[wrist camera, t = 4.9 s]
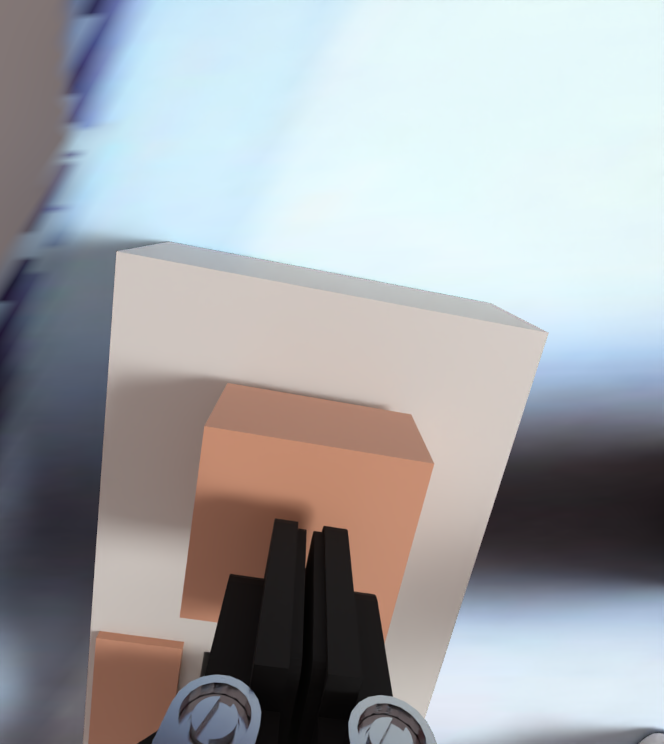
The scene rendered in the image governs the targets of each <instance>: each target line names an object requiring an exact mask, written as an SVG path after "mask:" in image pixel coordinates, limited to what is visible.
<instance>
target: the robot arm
mask: <svg viewBox="0 0 664 744" xmlns="http://www.w3.org/2000/svg"><path fill="white" fill-rule="evenodd" d="M306 536H307V530H306V529H299V528H298V522H297V521H290V520H284V519H277V518H275V520H274V525H273V530H272V536H271V541H270V547H269V552H268V558H267V563H266V569H265V574H264V578H257V577H250V576H243V575H236V574H230V575H229V579H228V582H227V587H226V591H225V595H224V599H223V603H222V607H221V611H220V615H219V619H218V623H217V627H216V631H215V635H214V639H213V643H212V647H211V651H210V655H209V659H208V663H207V667H206V671H205V675H204V676H203V677H200V678H198V679H196V680H193V681H191V682H189V683H188V684H187V685H186V686H184V687H183V688H182V689H181V690H180V691H179V692H178V693H177V695H176V696H175V698H174V699H173V701H172V702H171V704H170V706H169V708H168V710H167V712H166V714H165V717H164V719H163V721H162V723H161V725H160V727H159V729H158V730H157V731H156V732H154V733H153V734H151V735H150V736H148V737H147V738H145V739H143V740H142V741H140V742H139V743H137V744H437V743H436V740H435V737H434V734H433V732H432V730H431V729H430V727H429V725H428V723H427V721H426V720H425V719H424V718H423V716H422V715H421V714H420V713H419V712H418V711H417V710H416V709H415V708H413V707H412V706H410V705H409V704H408V703H406V702H404V701H402V700H400V699H397V698H395V697H393V694H392V688H391V681H390V675H389V669H388V663H387V656H386V650H385V644H384V638H383V631H382V625H381V619H380V613H379V606H378V601H377V597H376V595H375V594H369V593H362V592H355V591H354V586H353V576H352V566H351V556H350V546H349V536H348V530H347V529H343V528H336V527H330V526H323V529H322V532H319V531H313V535H312V539H311V544H310V549H309V554H308V558H307V563H306ZM305 565H306V568H305Z"/></svg>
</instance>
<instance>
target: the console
mask: <svg viewBox="0 0 664 744" xmlns="http://www.w3.org/2000/svg"><path fill="white" fill-rule="evenodd" d="M547 336H548V332H546V331H544V330H542V329H540V328H538V327H536V326H534V325H532V324H530V323H528V322H526V321H525V320H523V319H521V318H519V317H517V316H515V315H513V314H511V313H509V312H507V311H505V310H503V309H501V308H499V307H497V306H495V305H493V304H491V303H487V302H481V301H476V300H471V299H466V298H460V297H455V296H450V295H445V294H440V293H434V292H429V291H424V290H419V289H414V288H408V287H403V286H398V285H393V284H388V283H382V282H377V281H372V280H367V279H361V278H356V277H351V276H346V275H341V274H335V273H330V272H325V271H320V270H315V269H309V268H304V267H299V266H294V265H288V264H283V263H278V262H273V261H268V260H262V259H257V258H252V257H247V256H242V255H236V254H231V253H226V252H221V251H216V250H210V249H205V248H200V247H195V246H189V245H184V244H179V243H174V242H164V243H159V244H153V245H148V246H142V247H137V248H131V249H126V250H120V251H116V265H115V280H114V294H113V309H112V324H111V338H110V353H109V367H108V382H107V397H106V411H105V426H104V440H103V455H102V470H101V484H100V499H99V513H98V528H97V543H96V557H95V572H94V586H93V601H92V616H91V630H90V645H89V659H88V674H87V689H86V703H85V718H84V732H83V744H137V743H139V742H140V741H142V740H143V739H145V738H147V737H148V736H150V735H151V734H153V733H154V732H156V731H157V730H158V729H159V727H160V725H161V723H162V721H163V719H164V717H165V714H166V712H167V710H168V708H169V706H170V704H171V702H172V701H173V699H174V698H175V696H176V695H177V693H178V692H179V691H180V690H181V689H182V688H183V687H184V686H186V685H187V684H188V683H189V682H191V681H193V680H196V679H198V678H200V677H203V676H204V675H205V671H206V667H207V663H208V659H209V655H210V651H211V647H212V643H213V639H214V635H215V631H216V627H217V622H209V621H202V620H194V619H187V618H180V610H181V602H182V594H183V587H184V579H185V571H186V564H187V556H188V548H189V540H190V533H191V525H192V517H193V509H194V502H195V494H196V486H197V479H198V471H199V463H200V455H201V448H202V440H203V432H204V426H205V424H206V422H207V420H208V418H209V416H210V414H211V413H212V411H213V409H214V407H215V405H216V403H217V401H218V400H219V398H220V396H221V394H222V392H223V390H224V388H225V387H226V385H227V383H231V384H237V385H243V386H249V387H255V388H260V389H266V390H272V391H278V392H284V393H290V394H295V395H301V396H307V397H313V398H319V399H325V400H330V401H336V402H342V403H348V404H354V405H360V406H366V407H371V408H377V409H383V410H389V411H395V412H401V413H406V414H411V415H412V417H413V419H414V421H415V423H416V426H417V428H418V430H419V432H420V434H421V436H422V438H423V441H424V443H425V445H426V447H427V449H428V451H429V453H430V456H431V458H432V460H433V462H434V467H433V470H432V474H431V478H430V481H429V485H428V489H427V492H426V496H425V499H424V503H423V507H422V510H421V514H420V518H419V521H418V525H417V528H416V532H415V536H414V539H413V543H412V546H411V550H410V554H409V557H408V561H407V565H406V568H405V572H404V575H403V579H402V583H401V586H400V590H399V594H398V597H397V601H396V604H395V608H394V612H393V615H392V619H391V623H390V626H389V630H388V633H387V637H386V641H385V650H386V656H387V663H388V669H389V675H390V681H391V688H392V694H393V697H395V698H397V699H400V700H402V701H404V702H406V703H408V704H409V705H410V706H412V707H413V708H415V709H416V710H417V711H418V712H419V713H420V714H421V715H422V716H423V718H424V719H425V716H426V713H427V710H428V706H429V703H430V700H431V697H432V694H433V691H434V688H435V685H436V682H437V678H438V675H439V672H440V669H441V666H442V663H443V660H444V657H445V654H446V650H447V647H448V644H449V641H450V638H451V635H452V632H453V629H454V626H455V622H456V619H457V616H458V613H459V610H460V607H461V604H462V601H463V597H464V594H465V591H466V588H467V585H468V582H469V579H470V576H471V573H472V569H473V566H474V563H475V560H476V557H477V554H478V551H479V548H480V545H481V541H482V538H483V535H484V532H485V529H486V526H487V523H488V520H489V517H490V513H491V510H492V507H493V504H494V501H495V498H496V495H497V492H498V489H499V485H500V482H501V479H502V476H503V473H504V470H505V467H506V464H507V461H508V457H509V454H510V451H511V448H512V445H513V442H514V439H515V436H516V433H517V429H518V426H519V423H520V420H521V417H522V414H523V411H524V408H525V405H526V401H527V398H528V395H529V392H530V389H531V386H532V383H533V380H534V377H535V373H536V370H537V367H538V364H539V361H540V358H541V355H542V352H543V349H544V345H545V342H546V339H547Z"/></svg>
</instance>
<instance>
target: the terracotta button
mask: <svg viewBox="0 0 664 744" xmlns="http://www.w3.org/2000/svg"><path fill="white" fill-rule="evenodd" d="M433 467H434V462H433V460H432V458H431V456H430V453H429V451H428V449H427V447H426V445H425V443H424V441H423V438H422V436H421V434H420V432H419V430H418V428H417V426H416V423H415V421H414V419H413V417H412V415H411V414H406V413H401V412H395V411H389V410H383V409H377V408H371V407H366V406H360V405H354V404H348V403H342V402H336V401H330V400H325V399H319V398H313V397H307V396H301V395H295V394H290V393H284V392H278V391H272V390H266V389H260V388H255V387H249V386H243V385H237V384H231V383H227V385H226V387H225V388H224V390H223V392H222V394H221V396H220V398H219V400H218V401H217V403H216V405H215V407H214V409H213V411H212V413H211V414H210V416H209V418H208V420H207V422H206V424H205V426H204V432H203V440H202V448H201V455H200V463H199V471H198V479H197V486H196V494H195V502H194V509H193V517H192V525H191V533H190V540H189V548H188V556H187V564H186V571H185V579H184V587H183V594H182V602H181V610H180V618H187V619H194V620H202V621H209V622H217V623H218V619H219V615H220V611H221V607H222V603H223V599H224V595H225V591H226V587H227V582H228V579H229V575H230V574H236V575H243V576H250V577H257V578H264V574H265V569H266V563H267V558H268V552H269V547H270V541H271V536H272V530H273V525H274V520H275V518H277V519H284V520H290V521H297V522H298V528H299V529H306V530H307V536H306V563H307V558H308V554H309V549H310V544H311V539H312V535H313V531H319V532H322V529H323V526H330V527H336V528H343V529H347V530H348V536H349V546H350V556H351V566H352V576H353V586H354V591H355V592H362V593H369V594H375V595H376V597H377V601H378V606H379V613H380V619H381V625H382V631H383V638H384V644H385V641H386V637H387V633H388V630H389V626H390V623H391V619H392V615H393V612H394V608H395V604H396V601H397V597H398V594H399V590H400V586H401V583H402V579H403V575H404V572H405V568H406V565H407V561H408V557H409V554H410V550H411V546H412V543H413V539H414V536H415V532H416V528H417V525H418V521H419V518H420V514H421V510H422V507H423V503H424V499H425V496H426V492H427V489H428V485H429V481H430V478H431V474H432V470H433ZM305 568H306V565H305Z"/></svg>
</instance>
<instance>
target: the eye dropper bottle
mask: <svg viewBox="0 0 664 744" xmlns="http://www.w3.org/2000/svg"><path fill="white" fill-rule="evenodd" d="M639 744H664V734H663V733H653V734H651V735H649V736H647V737H646V738H644V739H643V740H642V741H641V742H640V743H639Z"/></svg>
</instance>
